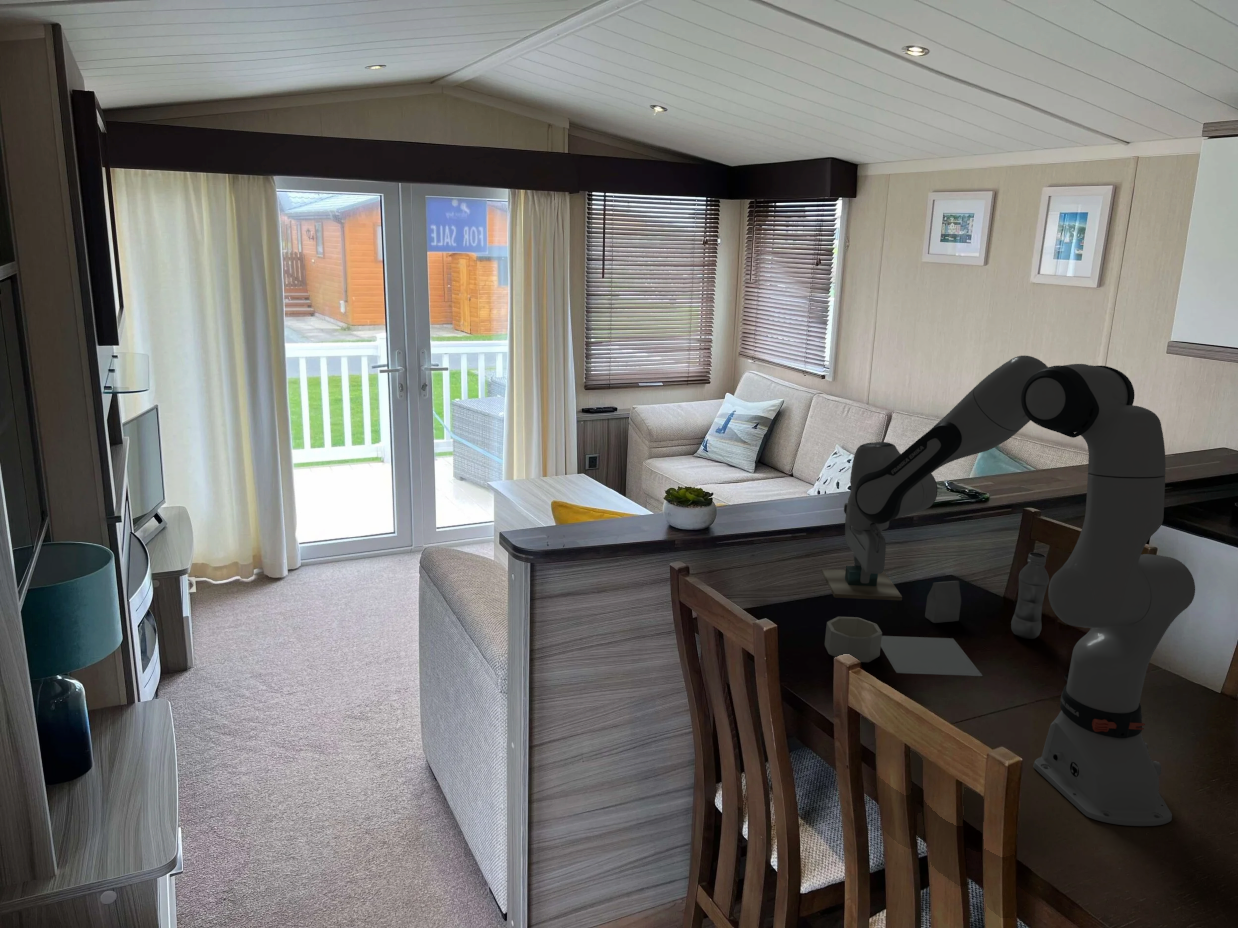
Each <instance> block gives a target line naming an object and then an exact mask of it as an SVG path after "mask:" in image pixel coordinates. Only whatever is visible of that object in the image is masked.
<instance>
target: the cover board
mask: <svg viewBox="0 0 1238 928" xmlns="http://www.w3.org/2000/svg"><path fill="white" fill-rule="evenodd" d="M861 570H862V568H861V566H854V565H846V566H845V569H831V568H830V569H827V568H826V569H825V568H821V572H820V573H821V575H822V577H823V578H824V580H825V582H826V584H827V586H828V587H829V589H830V592H831V594H832V596H833V597H834V598H836V599H861V600H862V599H863V600H886V601H887V600H888V601H902V600H903V596H902V594H901V593H900V592H899V590H898V588H897V587H896V586H895V584H894V583H893V582H892V580H891V579H890V578H889V576H888V574H887V573H886V572H885V571H883V572H882V573H881V574H873V573H871V575H870V578H869V583H861V582H860V580H859V575H860V573H861Z"/></svg>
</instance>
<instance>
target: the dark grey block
mask: <svg viewBox="0 0 1238 928" xmlns="http://www.w3.org/2000/svg"><path fill="white" fill-rule="evenodd" d="M961 595H962V594H961V588H960V581H959V580H951V581H950V580H948V581H938V582H937V581H936V582H932V586H931V588H930V591H929V592H928V594H927V596H926V604H925V610H924V612H925V613H924V618H926V619H928V620H929V621H930V622H932V623H933V624H938V623H948V622H959V619H960V614H961V613H960V612H961V605H962V596H961Z"/></svg>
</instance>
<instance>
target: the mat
mask: <svg viewBox="0 0 1238 928" xmlns="http://www.w3.org/2000/svg"><path fill="white" fill-rule="evenodd" d="M880 649H882V651H883V653H884V655H885V657H886V658H887V659H888V662H889V663H890V664H891V666H892V668H893V670H894V671H895V673H896V674H908V675H909V674H911V675H912V674H913V675H916V674H917V675H937V676H938V675H940V676H941V675H943V676H965V677H966V676H967V677H968V676H969V677H983V674H982V673H981V672H980V670H979V669H978V668H977V667H976V665H975V664H974V663H973V662H972V660H971V659H970V658H969V657H968V655H967V654H966V653H965V652H964V650H963V649H962V647H961V646H960V645H959V644H958V642H957V641H956V640H955V639H954V638H953V637H950V638H949V637H926V636H924V637H923V636H920V637H919V636H898V635H897V636H895V635H894V636H893V635H882V639H881V648H880Z"/></svg>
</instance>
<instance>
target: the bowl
mask: <svg viewBox="0 0 1238 928" xmlns="http://www.w3.org/2000/svg"><path fill="white" fill-rule="evenodd" d="M825 627H826V628H825V637H824V647H825V649H826V651H827V653H828V655H830V656H832V657H835V658H837V657H836V656H839V655H843V654H850V655H852V656H854V657H856V658H857V659H859V660H860V661H861V662H860V663H870V662H872V661H874V660H876V659H877V658H878V657H880V656H881V649H882V648H881V639H882V636H883V632H882V630H881V628H880V627H879V625H878V624H877V623H875V622H872V621H870V620H866V619H864V618H861V617H857V616H855V617H854V616H836V617H835V618H832V619H830V620H828V621H826V626H825Z"/></svg>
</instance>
